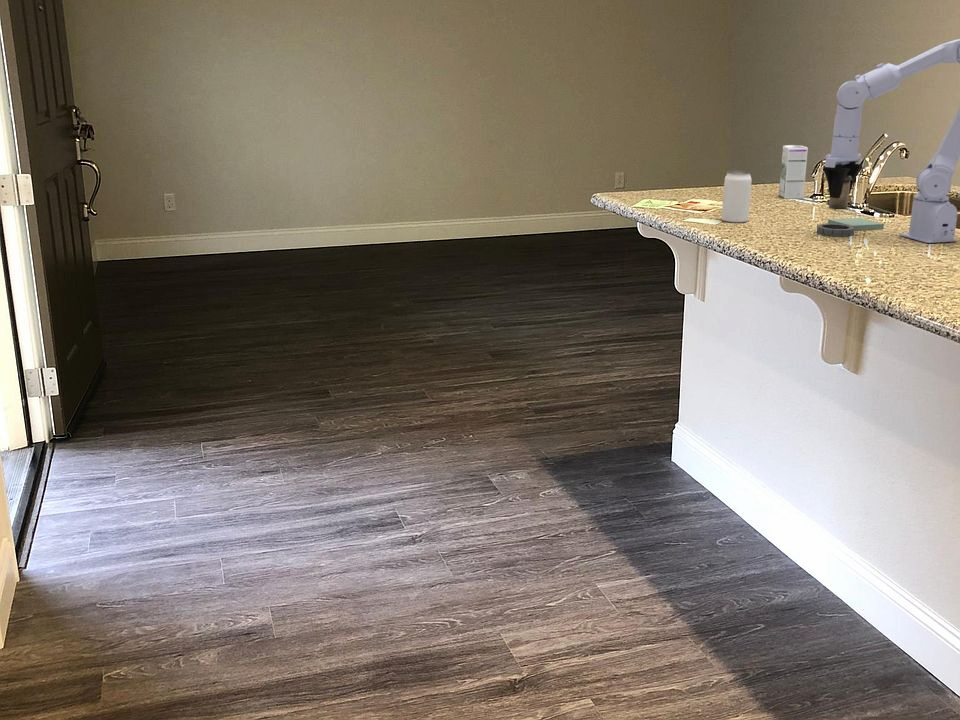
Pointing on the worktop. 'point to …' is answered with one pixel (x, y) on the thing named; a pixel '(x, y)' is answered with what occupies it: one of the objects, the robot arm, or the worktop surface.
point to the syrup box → (793, 172)
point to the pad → (858, 223)
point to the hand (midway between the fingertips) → (839, 196)
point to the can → (736, 197)
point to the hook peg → (843, 200)
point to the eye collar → (835, 230)
